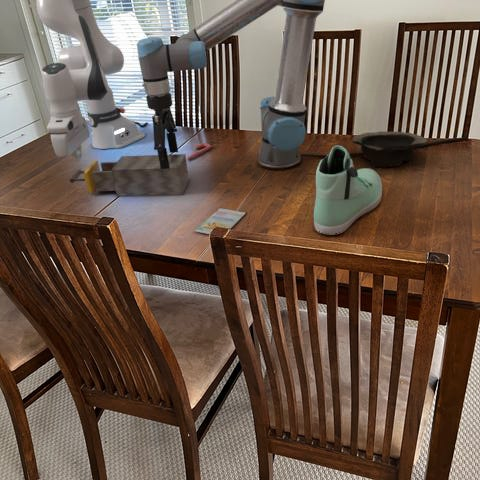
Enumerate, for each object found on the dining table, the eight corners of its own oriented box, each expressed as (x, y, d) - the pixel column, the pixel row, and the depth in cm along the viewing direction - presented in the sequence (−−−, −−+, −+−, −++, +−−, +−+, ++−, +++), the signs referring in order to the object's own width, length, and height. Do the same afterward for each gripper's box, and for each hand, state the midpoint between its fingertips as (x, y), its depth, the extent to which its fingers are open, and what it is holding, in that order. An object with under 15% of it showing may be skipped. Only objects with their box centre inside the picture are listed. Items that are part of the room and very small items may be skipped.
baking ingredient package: (194, 230, 133) (219, 207, 144) (194, 231, 133) (219, 208, 144) (222, 235, 129) (246, 211, 141) (222, 237, 129) (246, 213, 141)
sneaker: (389, 187, 148) (396, 123, 138) (356, 242, 123) (361, 168, 112) (346, 181, 154) (350, 119, 144) (306, 232, 129) (307, 161, 118)
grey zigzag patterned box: (117, 196, 157) (111, 169, 152) (127, 181, 167) (121, 156, 162) (182, 194, 155) (178, 167, 150) (188, 179, 164) (185, 153, 159)
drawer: (70, 194, 159) (65, 173, 155) (82, 181, 167) (76, 161, 164) (149, 192, 156) (145, 171, 152) (156, 178, 165) (153, 158, 161)
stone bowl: (385, 177, 154) (386, 150, 149) (337, 159, 174) (336, 134, 170) (441, 159, 162) (444, 132, 158) (389, 143, 183) (390, 119, 178)
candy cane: (177, 158, 182) (177, 154, 181) (202, 145, 192) (201, 141, 191) (189, 161, 179) (189, 157, 178) (214, 147, 189) (213, 144, 188)
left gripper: (70, 109, 160) (80, 149, 167) (44, 129, 142) (56, 172, 149) (88, 108, 159) (98, 148, 166) (64, 128, 141) (75, 172, 149)
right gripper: (155, 84, 155) (166, 146, 166) (135, 106, 134) (149, 176, 145) (178, 82, 154) (187, 145, 165) (161, 104, 133) (173, 175, 144)
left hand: (78, 160), depth 158 cm, fingers closed
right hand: (169, 160), depth 155 cm, fingers open, 13 cm apart
